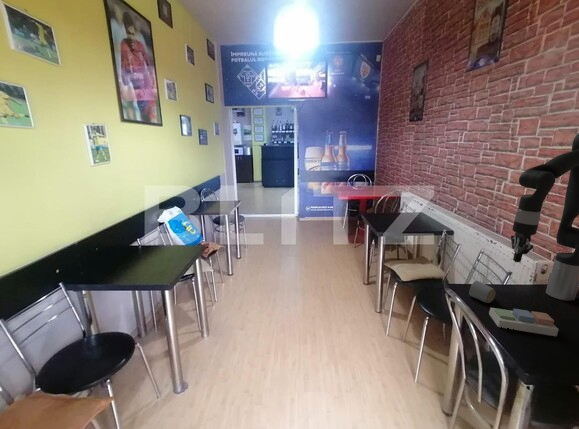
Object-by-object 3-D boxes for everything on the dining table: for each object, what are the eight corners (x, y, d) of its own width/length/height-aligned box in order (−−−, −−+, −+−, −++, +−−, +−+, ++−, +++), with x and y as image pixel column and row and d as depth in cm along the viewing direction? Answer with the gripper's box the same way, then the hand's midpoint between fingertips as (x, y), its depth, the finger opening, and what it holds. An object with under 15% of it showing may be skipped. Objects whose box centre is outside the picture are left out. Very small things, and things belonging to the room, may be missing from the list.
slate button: (526, 316, 114) (528, 310, 114) (533, 324, 110) (534, 318, 109) (511, 314, 115) (513, 308, 115) (517, 322, 111) (519, 315, 110)
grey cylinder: (486, 306, 125) (490, 290, 123) (467, 297, 132) (470, 282, 130) (497, 300, 131) (501, 284, 129) (478, 291, 138) (482, 277, 136)
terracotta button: (544, 319, 113) (546, 313, 112) (552, 327, 108) (554, 320, 107) (529, 317, 114) (531, 311, 113) (536, 324, 109) (538, 318, 109)
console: (542, 322, 115) (544, 315, 114) (556, 336, 107) (558, 329, 106) (489, 313, 120) (490, 307, 119) (498, 327, 111) (499, 320, 110)
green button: (507, 316, 116) (509, 310, 115) (513, 323, 111) (515, 317, 111) (493, 314, 117) (495, 308, 116) (499, 321, 113) (500, 315, 112)
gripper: (547, 226, 107) (536, 269, 111) (528, 217, 119) (519, 256, 124) (524, 224, 109) (513, 266, 113) (507, 216, 121) (499, 254, 126)
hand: (516, 261), depth 119 cm, fingers closed
